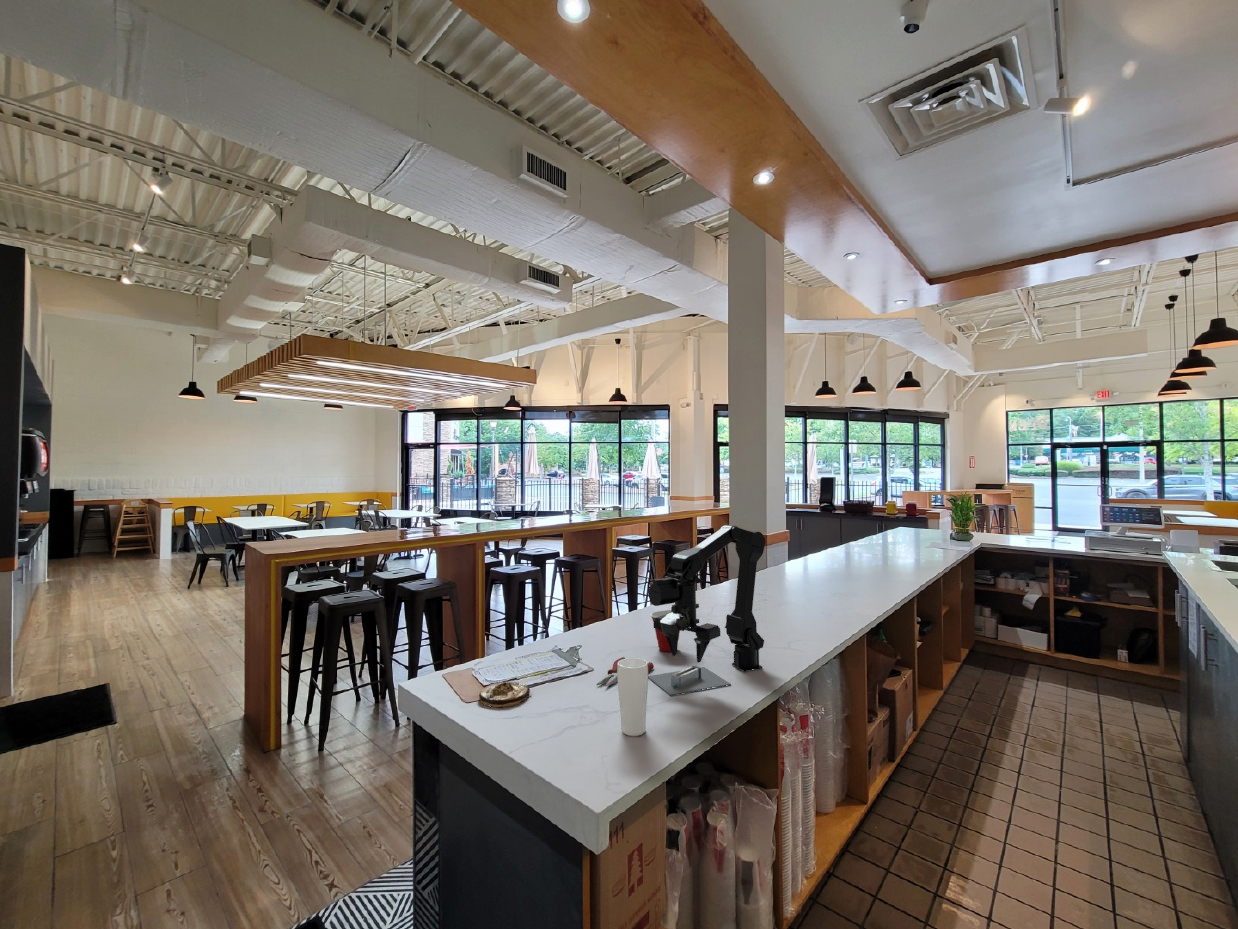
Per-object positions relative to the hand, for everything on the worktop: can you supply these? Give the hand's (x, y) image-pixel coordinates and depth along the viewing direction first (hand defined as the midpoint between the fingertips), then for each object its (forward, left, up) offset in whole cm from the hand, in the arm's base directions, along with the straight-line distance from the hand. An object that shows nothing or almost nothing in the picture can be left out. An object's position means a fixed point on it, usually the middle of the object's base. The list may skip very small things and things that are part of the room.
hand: (686, 658), depth 146 cm
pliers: (+14, -14, -7) cm, 21 cm away
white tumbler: (+24, +20, -7) cm, 32 cm away
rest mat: (-1, -1, -6) cm, 7 cm away
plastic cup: (-8, -28, -7) cm, 30 cm away
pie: (+47, -10, -7) cm, 49 cm away
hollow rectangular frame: (-4, -2, -5) cm, 7 cm away
